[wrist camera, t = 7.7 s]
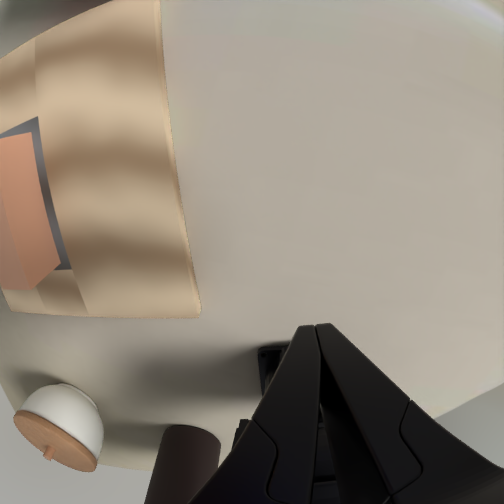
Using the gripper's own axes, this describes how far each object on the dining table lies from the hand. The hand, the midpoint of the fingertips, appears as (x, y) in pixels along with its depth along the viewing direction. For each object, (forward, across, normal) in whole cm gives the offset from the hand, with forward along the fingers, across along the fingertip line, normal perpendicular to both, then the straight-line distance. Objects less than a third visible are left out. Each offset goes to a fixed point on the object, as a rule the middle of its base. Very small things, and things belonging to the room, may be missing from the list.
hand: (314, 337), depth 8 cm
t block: (+11, +21, -3) cm, 24 cm away
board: (+12, +16, -4) cm, 21 cm away
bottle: (+12, +12, +26) cm, 31 cm away
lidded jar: (+12, +26, +20) cm, 35 cm away
